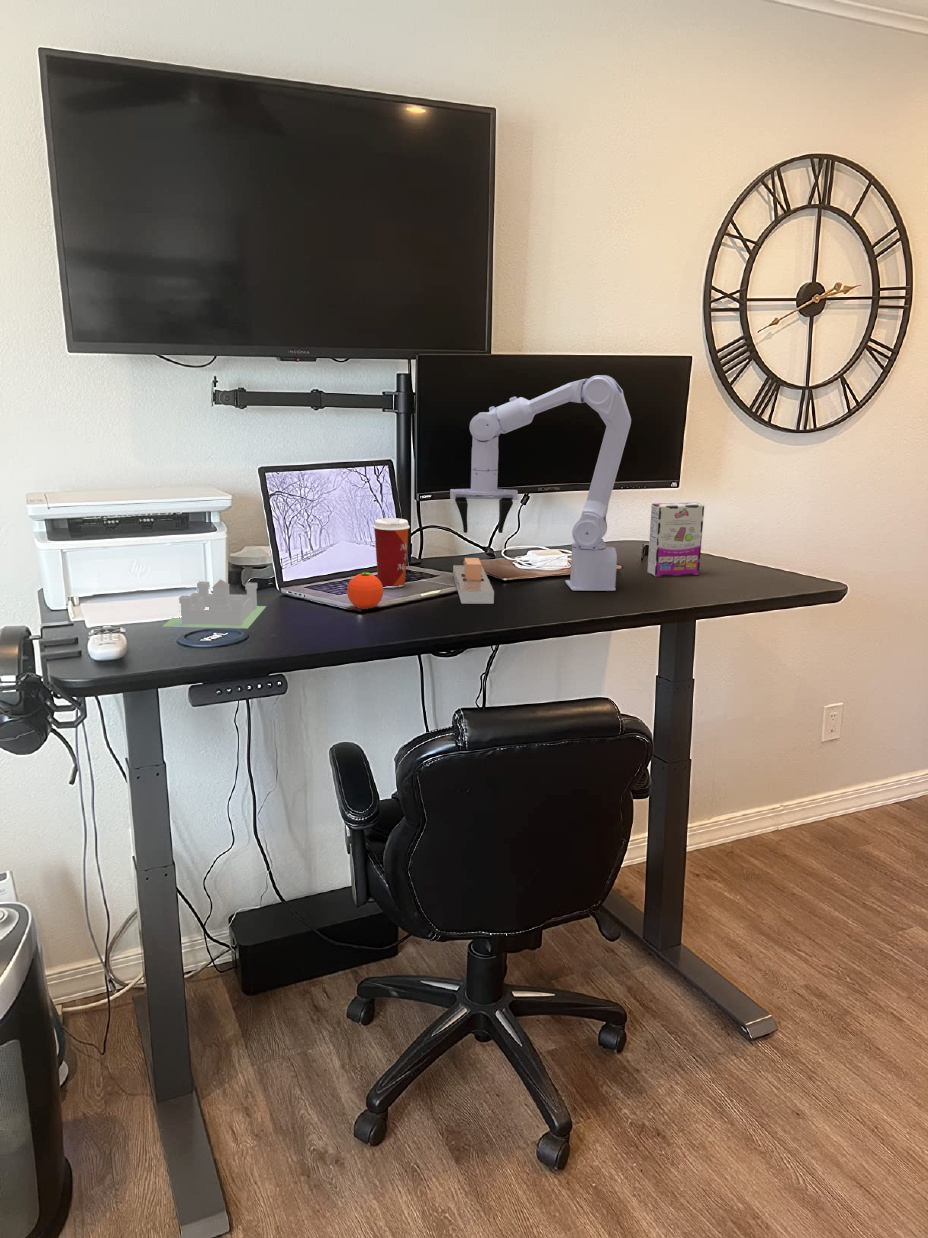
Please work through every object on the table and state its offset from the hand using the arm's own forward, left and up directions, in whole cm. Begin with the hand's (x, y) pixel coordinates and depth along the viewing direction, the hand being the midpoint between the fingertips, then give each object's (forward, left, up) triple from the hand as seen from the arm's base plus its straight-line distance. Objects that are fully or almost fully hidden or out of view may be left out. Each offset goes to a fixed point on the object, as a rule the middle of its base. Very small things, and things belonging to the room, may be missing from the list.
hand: (482, 532), depth 196 cm
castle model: (+52, +31, -11) cm, 62 cm away
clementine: (+25, +25, -11) cm, 37 cm away
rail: (+3, +10, -10) cm, 15 cm away
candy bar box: (-45, -5, -11) cm, 47 cm away
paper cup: (+20, +7, -11) cm, 24 cm away
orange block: (+3, +10, -10) cm, 15 cm away
